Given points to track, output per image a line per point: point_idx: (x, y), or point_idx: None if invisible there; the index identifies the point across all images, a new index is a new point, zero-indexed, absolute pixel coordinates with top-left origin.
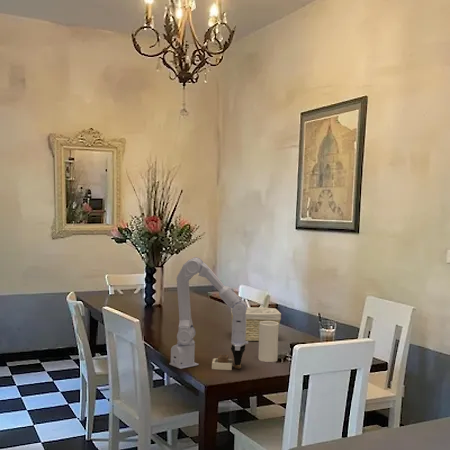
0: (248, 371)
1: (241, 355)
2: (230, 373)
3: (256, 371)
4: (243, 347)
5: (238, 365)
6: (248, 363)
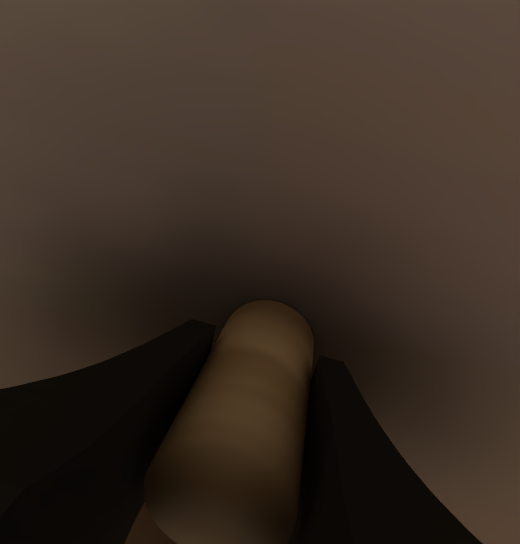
0: (472, 227)
1: (426, 509)
2: (510, 487)
3: (505, 81)
4: (46, 520)
5: (310, 369)
6: (35, 129)
